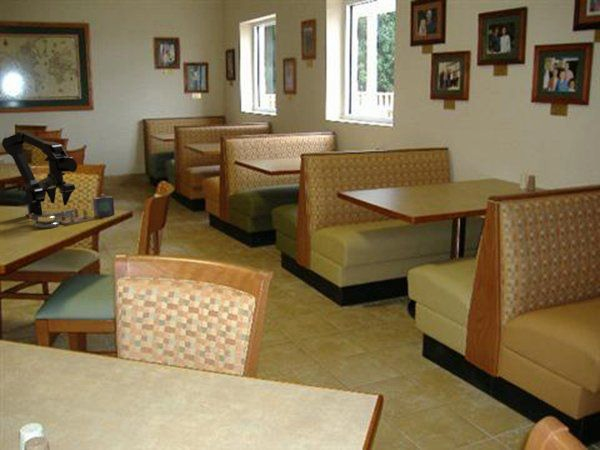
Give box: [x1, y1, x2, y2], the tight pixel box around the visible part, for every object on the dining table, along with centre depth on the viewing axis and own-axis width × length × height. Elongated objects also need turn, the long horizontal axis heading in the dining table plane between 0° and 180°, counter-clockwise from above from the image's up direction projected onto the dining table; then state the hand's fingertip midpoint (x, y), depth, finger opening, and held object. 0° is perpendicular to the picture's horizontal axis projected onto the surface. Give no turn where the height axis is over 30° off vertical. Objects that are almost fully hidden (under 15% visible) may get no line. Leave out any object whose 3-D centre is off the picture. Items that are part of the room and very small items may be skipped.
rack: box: [56, 207, 95, 226], centre depth 280 cm, size 9×14×5 cm, turn 147°
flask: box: [92, 193, 115, 218], centre depth 290 cm, size 9×3×11 cm, turn 115°
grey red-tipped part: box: [28, 214, 55, 224], centre depth 272 cm, size 15×7×3 cm, turn 57°
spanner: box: [41, 208, 75, 221], centre depth 286 cm, size 5×16×3 cm, turn 147°
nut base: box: [34, 211, 60, 230], centre depth 270 cm, size 10×10×6 cm
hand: (59, 204), depth 286 cm, fingers open, 9 cm apart
